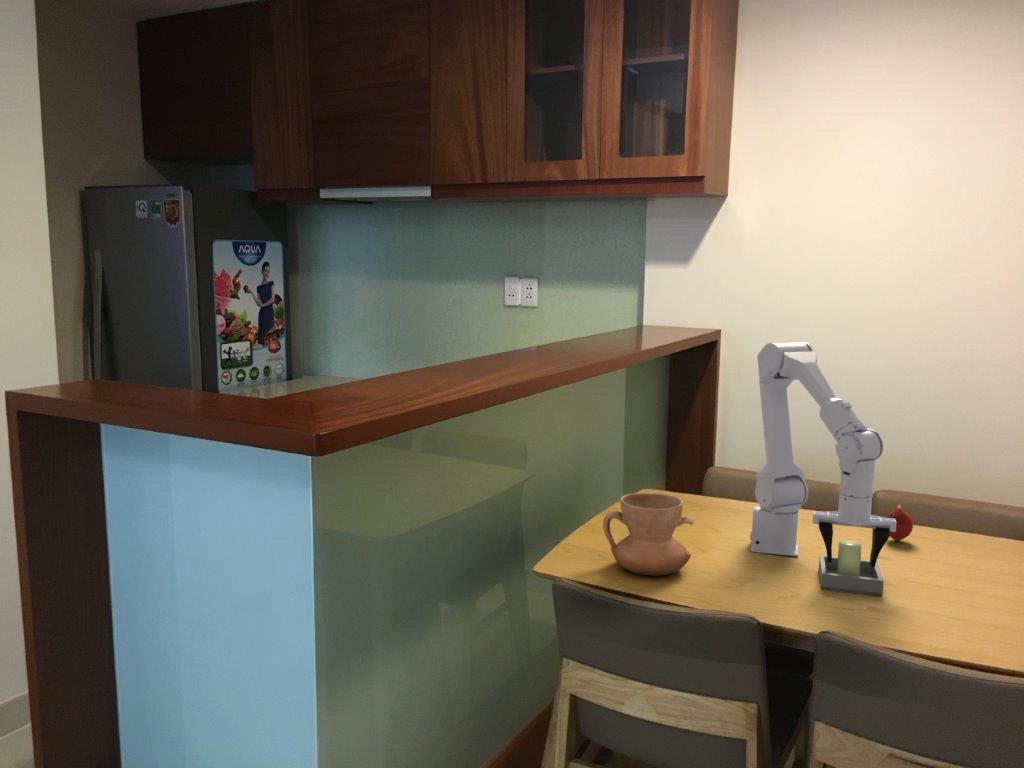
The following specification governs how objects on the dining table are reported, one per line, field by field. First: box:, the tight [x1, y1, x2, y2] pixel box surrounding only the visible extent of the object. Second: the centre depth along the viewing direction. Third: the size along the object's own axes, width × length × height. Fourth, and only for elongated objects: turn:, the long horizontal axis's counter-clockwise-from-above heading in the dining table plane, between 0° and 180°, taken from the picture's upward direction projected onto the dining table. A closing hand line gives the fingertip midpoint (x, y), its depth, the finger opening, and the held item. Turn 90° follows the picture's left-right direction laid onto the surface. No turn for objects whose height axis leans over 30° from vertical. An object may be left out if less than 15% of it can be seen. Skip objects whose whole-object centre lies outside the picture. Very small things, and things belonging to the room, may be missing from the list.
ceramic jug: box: [602, 492, 696, 577], centre depth 166 cm, size 18×14×14 cm
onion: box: [885, 504, 914, 542], centre depth 184 cm, size 6×6×8 cm
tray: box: [818, 554, 885, 597], centre depth 160 cm, size 11×11×3 cm
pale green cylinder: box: [837, 540, 862, 577], centre depth 160 cm, size 4×4×7 cm
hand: (850, 562), depth 160 cm, fingers open, 7 cm apart
